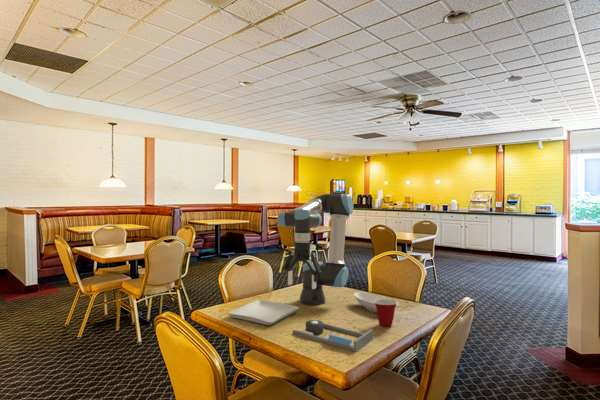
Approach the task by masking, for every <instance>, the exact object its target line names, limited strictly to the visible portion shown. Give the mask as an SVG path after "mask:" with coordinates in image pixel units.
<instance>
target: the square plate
mask: <svg viewBox="0 0 600 400" xmlns="http://www.w3.org/2000/svg"><path fill="white" fill-rule="evenodd" d="M298 309H300V307H299V306H296V305H292V304H287V303H282V302H277V301H270V300H265V299H257V300H255V301H252V302H249V303H247V304H244V305H242V306H240V307H237V308H235V309H233V310H231V311H228V312H227V314H228V315H229V316H230V317H231V318H235V319H241V320H243V321H248V322H253V323H256V324H257V323H258V324H260V325H261V324H262V325H266V326H271V325H273V324H275V323H277V322H279V321H280V320H282V319H284V318H286V317H288V316H290V315H292V314H293V313H295V312H296V311H297V310H298Z"/></svg>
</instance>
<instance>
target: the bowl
mask: <svg viewBox="0 0 600 400" xmlns="http://www.w3.org/2000/svg"><path fill="white" fill-rule="evenodd" d="M353 295H354V296H353V297H354V298H355V299H356V300H357V302H358V303H359V304H360V305H361V306H363V307H364V308H365V309H366V310H368V311H371V312H374V313H376V314H377V308H376V305H375V303H374V301H375V300H379V299H389V300H393V299H391V298H389V297H387V296H383V295H380V294H374V293H372V292H371V293H370V292H360V291H359V292H355V293H354V294H353ZM398 306H399V303H398V302H397V303H396V307H395V309H396V308H397V307H398Z"/></svg>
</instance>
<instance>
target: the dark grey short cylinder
mask: <svg viewBox="0 0 600 400" xmlns="http://www.w3.org/2000/svg"><path fill="white" fill-rule="evenodd" d="M323 323H324V322H323V321H322V320H319V319H310V320H306V321H305V331H307V332H311V333H313V335H315V336H320V335H322V334H323V333H324V327H323Z"/></svg>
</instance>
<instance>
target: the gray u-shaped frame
mask: <svg viewBox="0 0 600 400" xmlns="http://www.w3.org/2000/svg"><path fill="white" fill-rule="evenodd" d="M324 328H325V329H328V330H332V331H335V332H340V333H345V334H348V335H352V336H355V337H357V338H356V339H355V340H352V339H351V338H346V337H343V336H339V335H336V334H331V333H330V334H328V336H327V335H326V336H325V337H323V336H319V335H313V333H311V332H307V331H306V330H304V329H299V328H298V329H293V330H292V334H293V335H296V336H300V337H302V338H306V339H309V340H314V341H317V342H319V343H324V344H327V345H331V346H334V347H338V348H341V349H345V350H349V351H351V352H355V353H357V352H358V351H359V350H361V349H362V348H364V346H366V345H367V344H369V343H370V342H371V341H373V339H374V330H373V329H369V330H367V331H366V332H364V333H363V332H359V331H356V330H352V329H348V328H344V327H339V326H337V325H331V324H327V323H324V322H323V329H324ZM352 342H353V343H352Z"/></svg>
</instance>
